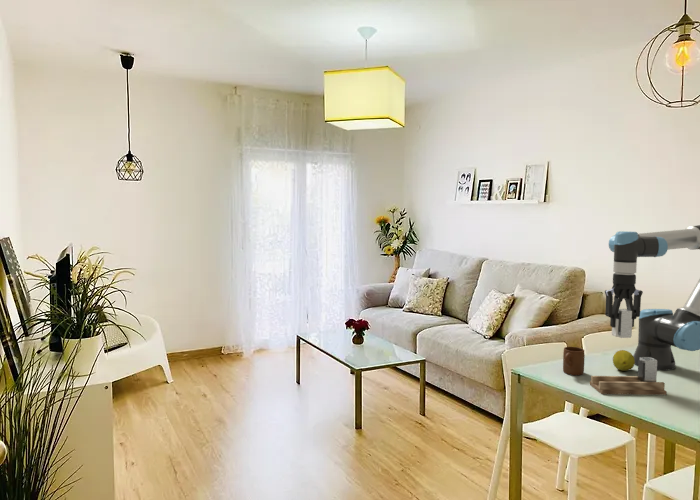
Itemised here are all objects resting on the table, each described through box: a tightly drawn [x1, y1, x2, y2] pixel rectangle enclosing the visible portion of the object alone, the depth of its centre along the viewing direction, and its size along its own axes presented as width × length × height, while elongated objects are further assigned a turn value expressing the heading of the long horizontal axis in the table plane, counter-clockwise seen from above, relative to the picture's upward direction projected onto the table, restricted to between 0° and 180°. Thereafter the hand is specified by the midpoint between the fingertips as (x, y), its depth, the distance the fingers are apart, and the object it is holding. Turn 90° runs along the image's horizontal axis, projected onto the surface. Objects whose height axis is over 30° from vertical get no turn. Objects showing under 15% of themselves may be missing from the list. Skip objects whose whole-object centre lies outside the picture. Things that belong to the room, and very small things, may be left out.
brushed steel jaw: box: [616, 308, 632, 339], centre depth 195 cm, size 5×4×10 cm
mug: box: [562, 346, 586, 376], centre depth 203 cm, size 12×8×9 cm, turn 138°
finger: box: [637, 357, 658, 382], centre depth 186 cm, size 5×4×10 cm
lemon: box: [612, 349, 635, 372], centre depth 208 cm, size 11×8×8 cm
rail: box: [589, 375, 668, 396], centre depth 186 cm, size 22×10×4 cm, turn 88°
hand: (621, 335), depth 195 cm, fingers closed on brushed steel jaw, 5 cm apart
